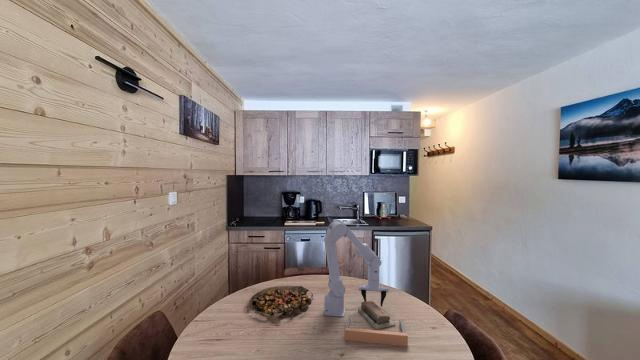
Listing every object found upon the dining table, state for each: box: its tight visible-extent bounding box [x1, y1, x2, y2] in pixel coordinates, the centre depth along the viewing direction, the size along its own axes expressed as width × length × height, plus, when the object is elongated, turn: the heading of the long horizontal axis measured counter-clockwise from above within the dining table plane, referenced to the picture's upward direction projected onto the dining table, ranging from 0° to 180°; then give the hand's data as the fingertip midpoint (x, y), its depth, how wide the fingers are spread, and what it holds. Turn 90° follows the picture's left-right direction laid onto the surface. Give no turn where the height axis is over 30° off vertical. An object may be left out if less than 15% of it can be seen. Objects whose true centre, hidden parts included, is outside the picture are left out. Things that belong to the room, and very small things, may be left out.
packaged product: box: [357, 300, 396, 330], centre depth 127 cm, size 18×5×10 cm
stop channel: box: [344, 314, 409, 347], centre depth 115 cm, size 24×16×4 cm, turn 80°
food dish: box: [248, 285, 314, 321], centre depth 141 cm, size 35×33×8 cm
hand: (373, 305), depth 136 cm, fingers open, 7 cm apart
